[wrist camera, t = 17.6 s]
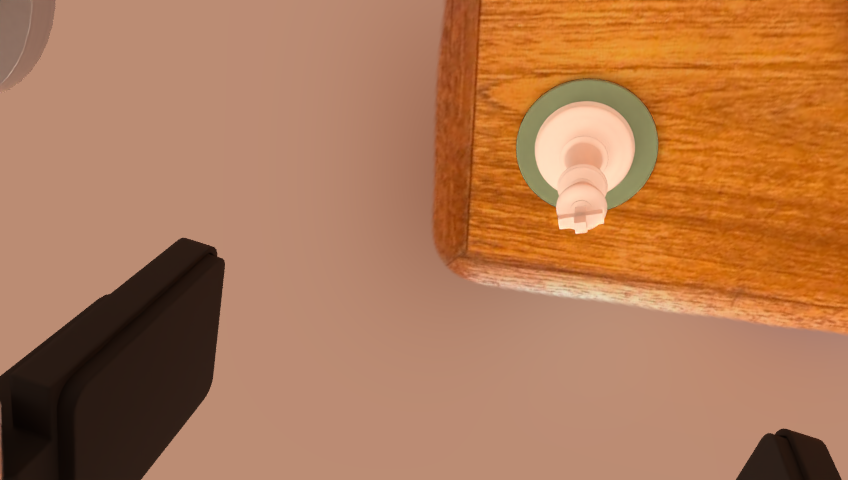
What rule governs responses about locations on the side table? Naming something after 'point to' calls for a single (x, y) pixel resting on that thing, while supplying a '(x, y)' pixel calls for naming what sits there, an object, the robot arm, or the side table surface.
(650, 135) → the coaster
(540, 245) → the side table surface
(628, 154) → the chess piece
